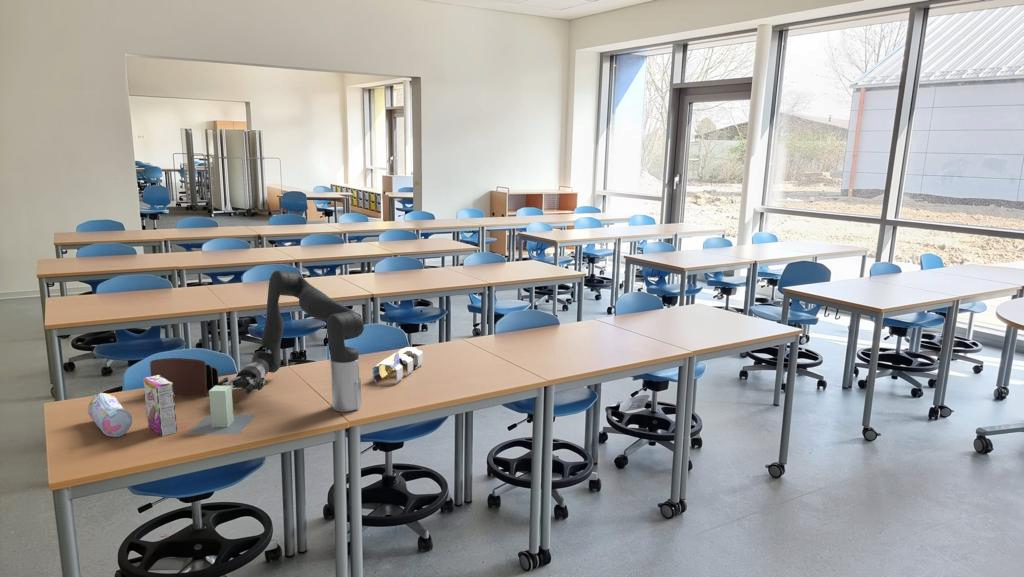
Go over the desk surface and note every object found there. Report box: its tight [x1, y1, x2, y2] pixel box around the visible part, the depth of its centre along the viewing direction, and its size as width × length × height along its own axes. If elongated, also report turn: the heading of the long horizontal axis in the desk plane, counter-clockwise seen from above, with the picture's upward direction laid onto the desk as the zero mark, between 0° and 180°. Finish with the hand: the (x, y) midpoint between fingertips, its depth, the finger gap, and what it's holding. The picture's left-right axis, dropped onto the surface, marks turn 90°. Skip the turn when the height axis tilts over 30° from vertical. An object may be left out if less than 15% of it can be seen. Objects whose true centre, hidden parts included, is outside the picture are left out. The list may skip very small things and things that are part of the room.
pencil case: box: [87, 392, 133, 438], centre depth 204 cm, size 21×9×10 cm, turn 42°
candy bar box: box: [142, 375, 178, 437], centre depth 202 cm, size 11×5×16 cm, turn 48°
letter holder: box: [149, 357, 220, 398], centre depth 237 cm, size 10×20×14 cm, turn 90°
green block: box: [208, 386, 234, 427], centre depth 208 cm, size 5×5×12 cm
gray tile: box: [186, 414, 257, 436], centre depth 209 cm, size 16×16×1 cm
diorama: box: [371, 346, 424, 385], centre depth 261 cm, size 25×10×13 cm, turn 165°
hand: (234, 391), depth 218 cm, fingers open, 8 cm apart
